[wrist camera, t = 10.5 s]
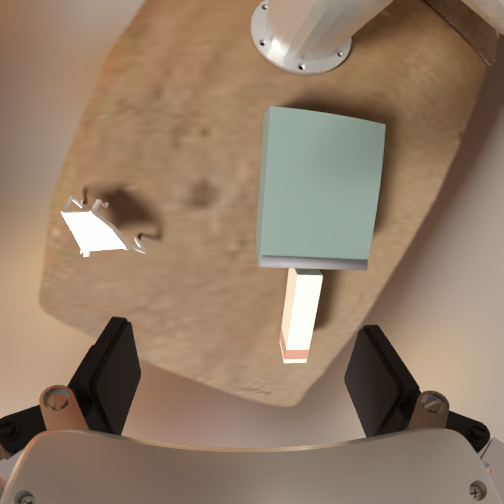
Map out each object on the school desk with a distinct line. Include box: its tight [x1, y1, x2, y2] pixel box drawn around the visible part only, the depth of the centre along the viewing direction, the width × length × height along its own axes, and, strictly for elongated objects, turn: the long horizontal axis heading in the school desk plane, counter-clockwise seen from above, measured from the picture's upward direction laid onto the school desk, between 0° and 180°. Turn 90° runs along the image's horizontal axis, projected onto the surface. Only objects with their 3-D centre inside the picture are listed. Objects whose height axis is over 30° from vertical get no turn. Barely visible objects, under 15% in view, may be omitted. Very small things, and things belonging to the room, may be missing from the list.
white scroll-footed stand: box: [61, 195, 146, 257], centre depth 33 cm, size 12×8×5 cm
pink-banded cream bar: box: [280, 268, 323, 363], centre depth 37 cm, size 13×3×5 cm, turn 176°
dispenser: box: [255, 106, 386, 270], centre depth 31 cm, size 16×12×8 cm
